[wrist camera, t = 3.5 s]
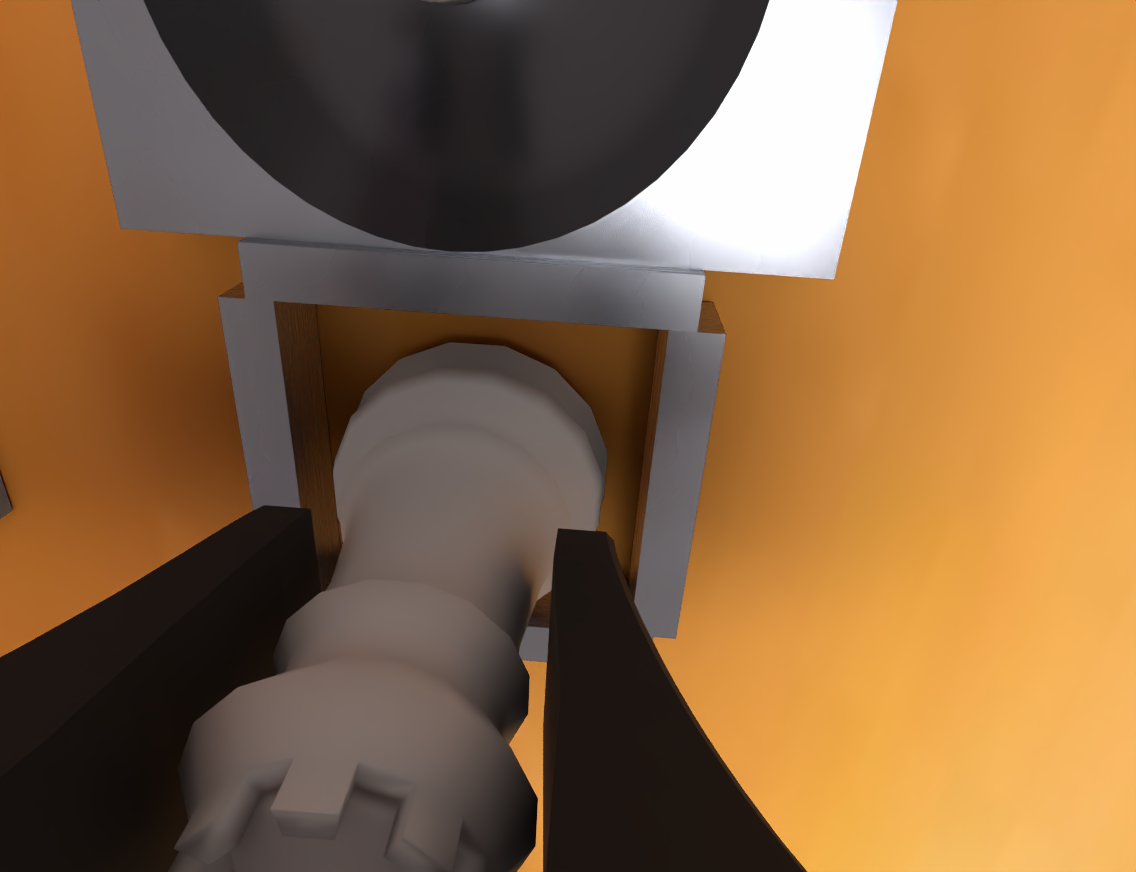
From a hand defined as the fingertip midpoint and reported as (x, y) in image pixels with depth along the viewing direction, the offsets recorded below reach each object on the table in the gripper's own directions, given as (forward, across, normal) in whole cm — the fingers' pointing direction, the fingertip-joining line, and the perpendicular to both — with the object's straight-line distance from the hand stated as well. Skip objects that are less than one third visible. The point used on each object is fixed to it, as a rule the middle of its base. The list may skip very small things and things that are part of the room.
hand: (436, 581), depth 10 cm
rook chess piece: (+4, 0, 0) cm, 4 cm away
